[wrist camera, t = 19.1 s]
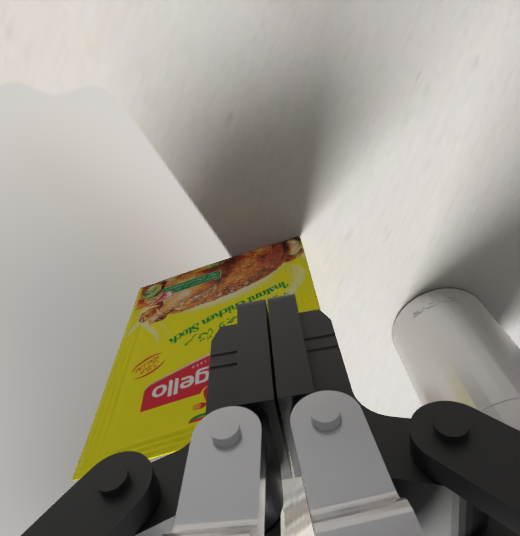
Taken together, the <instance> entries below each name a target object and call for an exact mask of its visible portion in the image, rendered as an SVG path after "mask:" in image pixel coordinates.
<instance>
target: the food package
mask: <svg viewBox="0 0 520 536" xmlns="http://www.w3.org/2000/svg"><path fill="white" fill-rule="evenodd" d="M290 294H295V297H296V302H297V307H298V312H299V313H300V312H306V311H311V310H317V309H319V310H320V307H319V303H318V299H317V296H316V292H315V289H314V285H313V281H312V278H311V274H310V271H309V267H308V263H307V260H306V256H305V253H304V249H303V245H302V242H301V238H300V236H297V237H295V238H291V239H289V240H286V241H283V242H279V243H275V244H272V245H269V246H266V247H263V248H260V249H256V250H253V251H250V252H247V253H244V254H241V255H238V256H235V257H232V258H229V259H225V260H222V261H219V262H216V263H214V264H210V265H207V266H204V267H202V268H198V269H196V270H193V271H189V272H187V273H183V274H181V275H178V276H175V277H172V278H169V279H166V280H163V281H160V282H158V283H155V284H152V285H150V286H146V287H143V288H141V289H140V291H139V293H138V296H137V300H136V302H135V305H134V308H133V311H132V314H131V316H130V320H129V322H128V325H127V328H126V331H125V333H124V336H123V339H122V342H121V345H120V348H119V350H118V353H117V356H116V359H115V361H114V364H113V367H112V370H111V373H110V376H109V378H108V381H107V384H106V387H105V390H104V392H103V396H102V398H101V401H100V404H99V407H98V410H97V412H96V415H95V418H94V421H93V424H92V427H91V430H90V432H89V435H88V438H87V441H86V444H85V447H84V449H83V452H82V455H81V457H80V459H79V461H78V465H77V467H76V471H75V473H74V476H73V480H72V481H74V480H79V479H81V478H82V477H83V476H84V475H85V474H86V473H87V472H88V471H89V470H90V469H91V468H92V467H94V466H95V465H96V464H97V463H98V462H100V461H101V460H103V459H105V458H106V457H108V456H110V455H113V454H115V453H119V452H124V451H135V452H139V453H141V454H143V455H145V456H146V457H147V458H148V459H152V458H156V457H159V456H163V455H166V454H170V453H174V452H176V451H178V450H180V449H181V448H183V447H184V446H186V445H187V444H188V443H189V442H190V441H191V437H192V433H193V431H194V429H195V427H196V426H197V424H198V423H199V422H200V421H201V420H202V419H203V418H204V417H205V413H206V401H207V389H208V376H209V370H210V369H209V364H210V358H211V357H210V352H211V341H212V339H213V338H214V336H215V334H216V333H217V331H218V330H219V328H220V327H222V326H227V325H233V324H237V305H238V304H241V303H246V302H252V301H257V300H263V299H265V300H266V304H267V308H268V301H267V299H268V298H273V297H279V296H285V295H290ZM320 311H321V310H320ZM268 313H269V311H268Z"/></svg>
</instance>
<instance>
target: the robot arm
mask: <svg viewBox="0 0 520 536" xmlns="http://www.w3.org/2000/svg"><path fill="white" fill-rule="evenodd" d="M267 301H268V308H267V304H266V300H265V299H263V300H257V301H252V302H246V303H241V304H238V305H237V324H233V325H227V326H222V327H220V328H219V330H218V331H217V333H216V334H215V336H214V338H213V339H212V341H211V352H210V357H211V358H210V364H209V369H210V370H209V376H208V389H207V401H206V413H205V417H204V418H203V419H202V420H201V421H200V422H199V423H198V424H197V426H196V427H195V429H194V431H193V433H192V437H191V441H190V442H189V443H188V444H187V445H186V446H184V447H183V448H181V449H180V450H178V451H176V452H174V453H172V454H169V455H167V456H165V457H163V458H161V459H159V460H156V461H154V462H152V463H150V461H149V459H148V458H147V457H146V456H145V455H143V454H141V453H139V452H135V451H124V452H119V453H115V454H113V455H110V456H108V457H106V458H105V459H103V460H101V461H100V462H98V463H97V464H96V465H95V466H94V467H92V468H91V469H90V470H89V471H88V472H87V473H86V474H85V475H84V476H83V477H82V478H81V479H80V480H79V481H78V482H77V483H76V484H75V485H74V486H72V487H71V489H69V490H68V491H67V492H66V493H65V494H64V495H63V496H62V497H61V498H60V499H59V500H58V501H57V502H56V503H55V504H54V505H52V506H51V507H50V508H49V509H48V510H47V511H46V512H45V513H44V514H43V515H42V516H41V517H40V518H39V519H38V520H37V521H36V522H35V523H34V524H33V525H31V526H30V527H29V528H28V529H27V530H26V531H25V532H24V533H23V534H22V535H21V536H285V522H284V511H283V490H282V480H283V479H289V478H292V472H291V463H290V456H291V461H292V465H293V469H294V474H295V477H300V476H302V480H303V484H304V489H305V493H306V498H307V503H308V508H309V512H310V517H311V521H312V526H313V530H314V535H315V536H520V349H519V347H518V346H517V345H516V344H515V343H514V341H513V340H512V339H511V338H510V337H509V335H508V334H507V333H506V332H505V331H504V329H503V328H502V327H501V326H500V324H499V323H498V322H497V321H496V320H495V318H494V317H493V316H492V315H491V314H490V313H489V311H488V310H487V309H486V308H485V307H484V305H483V304H482V303H481V302H480V301H479V300H478V299H477V298H476V297H475V296H474V295H472V294H470V293H468V292H467V291H464V290H460V289H453V288H444V289H437V290H433V291H430V292H427V293H424V294H422V295H420V296H418V297H416V298H415V299H414V300H412V301H411V302H410V303H408V304H407V305H406V306H405V307H404V308H403V309H402V310H401V312H400V313H399V315H398V316H397V318H396V320H395V323H394V325H393V331H392V338H393V343H394V345H395V348H396V350H397V352H398V354H399V356H400V358H401V361H402V363H403V365H404V367H405V369H406V372H407V374H408V376H409V378H410V380H411V382H412V385H413V387H414V389H415V391H416V393H417V395H418V397H419V399H420V402H421V404H422V407H420V408H419V409H418V410H417V411H416V412H415V413H414V414H413V416H412V418H411V419H409V418H399V417H390V416H384V415H381V414H377V413H375V412H373V411H370V410H369V409H367V408H365V407H364V406H363V405H362V404H360V402H359V401H358V400H357V399H356V398H355V396H354V394H353V392H352V389H351V385H350V382H349V379H348V375H347V372H346V369H345V365H344V362H343V359H342V355H341V352H340V349H339V346H338V342H337V339H336V336H335V332H334V329H333V326H332V322H331V320H330V319H329V318H328V317H327V316H326V315H325V314H324V313H323V312H321V311H320V310H319V309H317V310H311V311H306V312H300V313H299V312H298V307H297V302H296V297H295V294H290V295H285V296H279V297H273V298H268V299H267ZM268 311H269V313H268ZM289 452H290V455H289Z"/></svg>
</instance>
